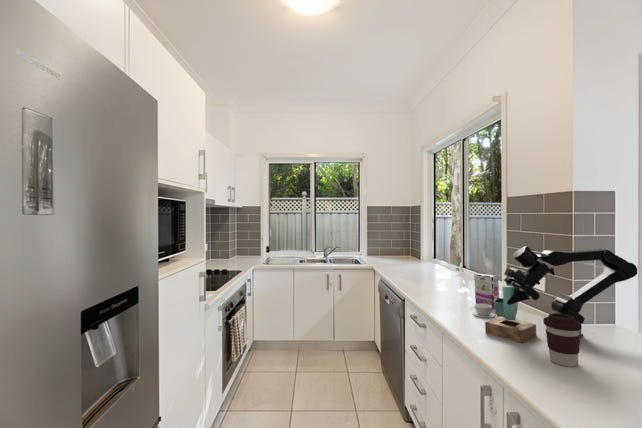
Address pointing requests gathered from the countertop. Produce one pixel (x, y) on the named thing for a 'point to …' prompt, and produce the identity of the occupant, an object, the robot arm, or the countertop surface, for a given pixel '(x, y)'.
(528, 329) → the brown wooden box
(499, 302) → the flower pot
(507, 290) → the dowel
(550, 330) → the coffee cup
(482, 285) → the candy bar box
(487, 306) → the teacup
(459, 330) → the countertop surface
